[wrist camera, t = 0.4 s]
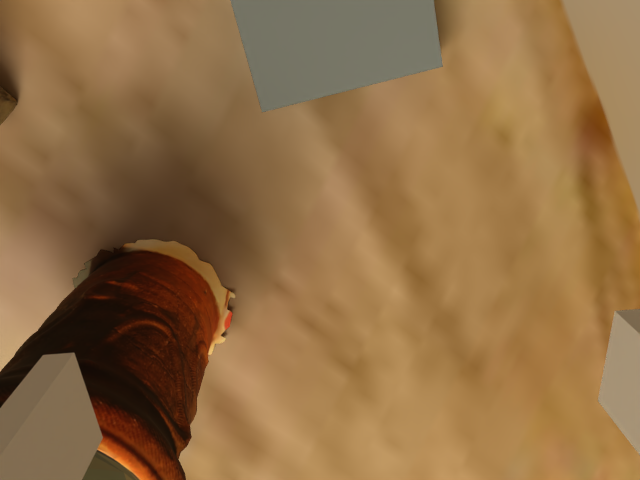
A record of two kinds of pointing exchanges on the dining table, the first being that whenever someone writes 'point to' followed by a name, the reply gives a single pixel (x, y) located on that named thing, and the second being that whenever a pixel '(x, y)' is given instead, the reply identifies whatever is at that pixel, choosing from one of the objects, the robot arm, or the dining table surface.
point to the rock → (6, 104)
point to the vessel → (136, 352)
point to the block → (333, 45)
